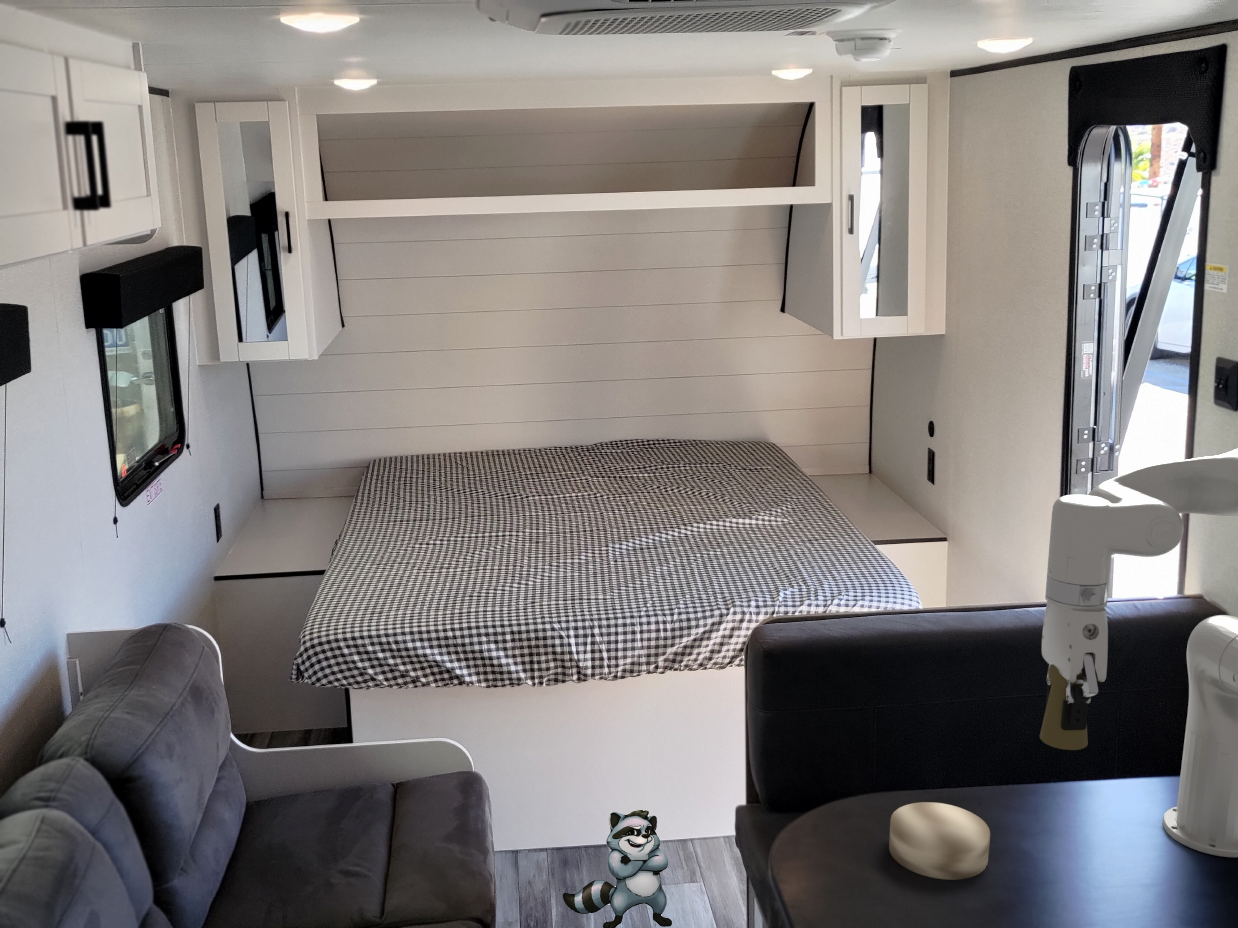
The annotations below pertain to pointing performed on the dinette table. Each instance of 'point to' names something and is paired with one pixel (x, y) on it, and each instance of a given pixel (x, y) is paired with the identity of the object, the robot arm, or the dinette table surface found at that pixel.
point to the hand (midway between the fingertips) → (1065, 719)
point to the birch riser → (939, 840)
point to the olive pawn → (1052, 718)
